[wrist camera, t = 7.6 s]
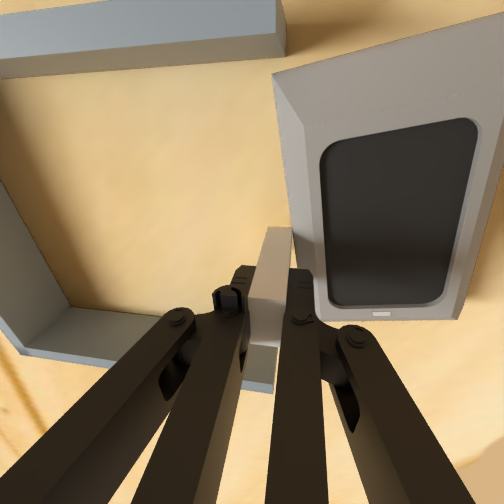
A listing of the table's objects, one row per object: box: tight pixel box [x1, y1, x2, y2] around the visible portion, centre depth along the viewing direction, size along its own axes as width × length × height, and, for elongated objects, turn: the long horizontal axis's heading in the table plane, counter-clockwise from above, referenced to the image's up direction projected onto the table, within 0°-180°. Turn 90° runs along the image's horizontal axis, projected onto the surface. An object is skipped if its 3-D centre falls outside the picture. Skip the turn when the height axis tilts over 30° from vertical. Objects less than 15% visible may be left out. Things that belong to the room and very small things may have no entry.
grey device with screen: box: [272, 12, 504, 322], centre depth 14 cm, size 10×4×15 cm
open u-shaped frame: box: [0, 0, 286, 394], centre depth 17 cm, size 21×22×5 cm
